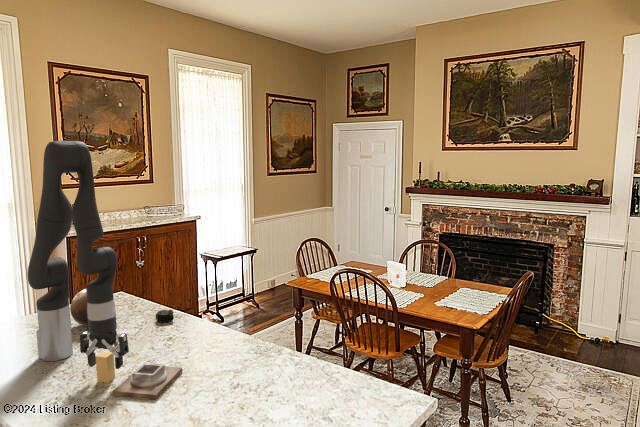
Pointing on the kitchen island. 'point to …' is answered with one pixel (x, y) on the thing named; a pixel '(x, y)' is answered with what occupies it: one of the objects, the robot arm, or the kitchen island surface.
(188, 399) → the kitchen island surface
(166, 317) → the tape measure
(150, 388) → the rosette socket
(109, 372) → the yellow rectangular block
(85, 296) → the wooden sphere
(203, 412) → the kitchen island surface
